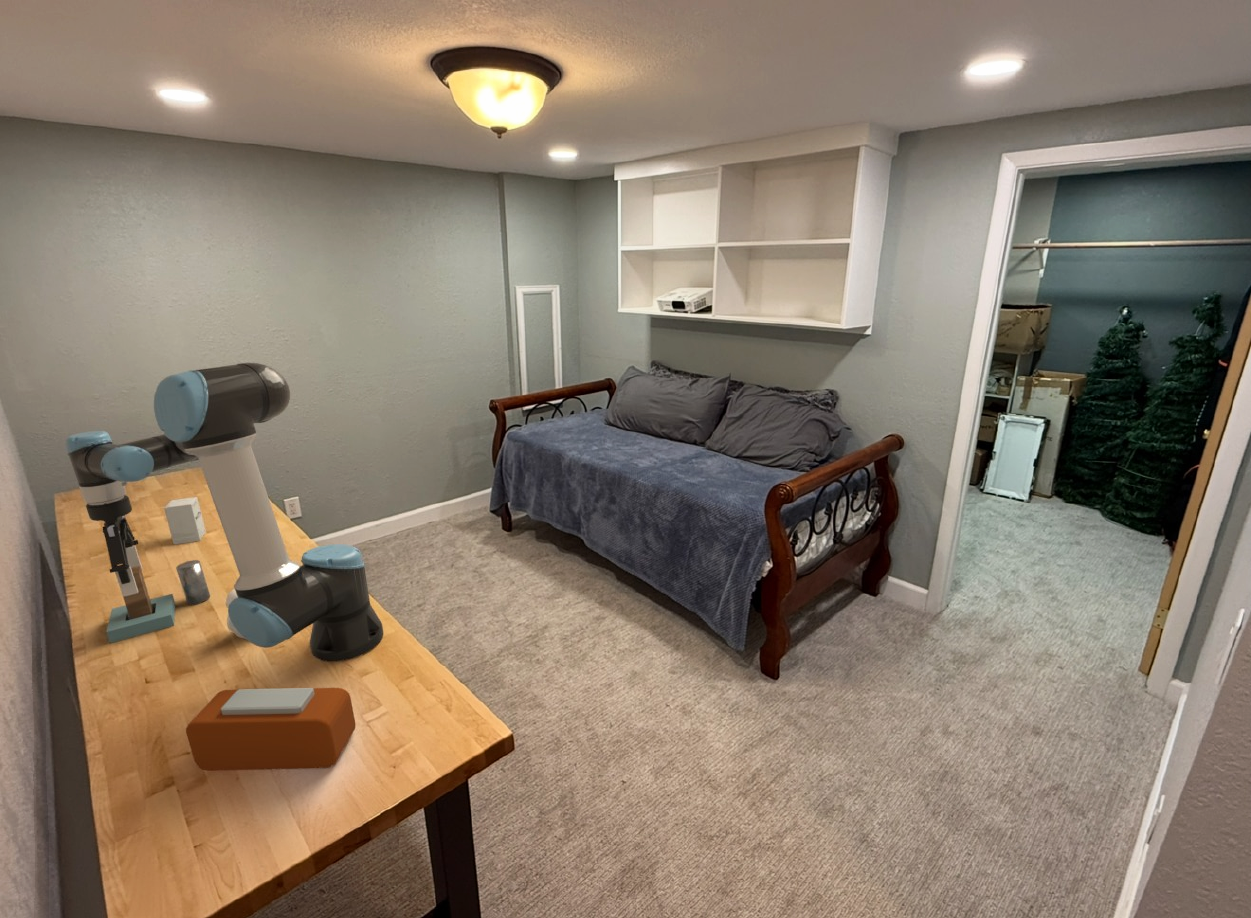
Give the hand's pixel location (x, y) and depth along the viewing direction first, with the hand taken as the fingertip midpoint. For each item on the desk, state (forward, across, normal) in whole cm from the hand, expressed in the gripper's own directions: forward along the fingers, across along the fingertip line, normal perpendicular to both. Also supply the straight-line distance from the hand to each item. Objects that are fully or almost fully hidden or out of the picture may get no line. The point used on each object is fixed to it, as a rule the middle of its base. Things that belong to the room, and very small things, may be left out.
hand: (133, 582), depth 140 cm
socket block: (+11, +1, 0) cm, 11 cm away
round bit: (+11, +6, -11) cm, 16 cm away
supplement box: (+10, +53, -9) cm, 54 cm away
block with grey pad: (+13, -65, -22) cm, 70 cm away
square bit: (+11, 0, 0) cm, 11 cm away
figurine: (+12, -19, -21) cm, 31 cm away
